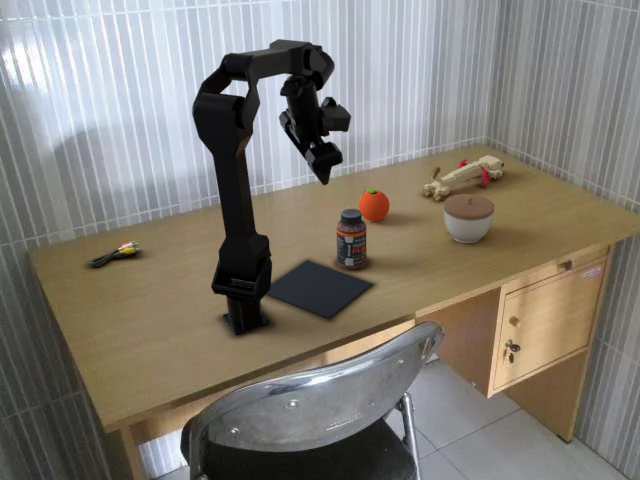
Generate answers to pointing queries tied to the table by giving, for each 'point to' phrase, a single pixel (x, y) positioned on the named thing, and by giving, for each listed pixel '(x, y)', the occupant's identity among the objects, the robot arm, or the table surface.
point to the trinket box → (468, 217)
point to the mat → (317, 289)
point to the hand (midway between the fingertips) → (316, 171)
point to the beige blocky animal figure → (464, 175)
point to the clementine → (374, 205)
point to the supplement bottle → (351, 239)
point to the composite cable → (116, 253)
